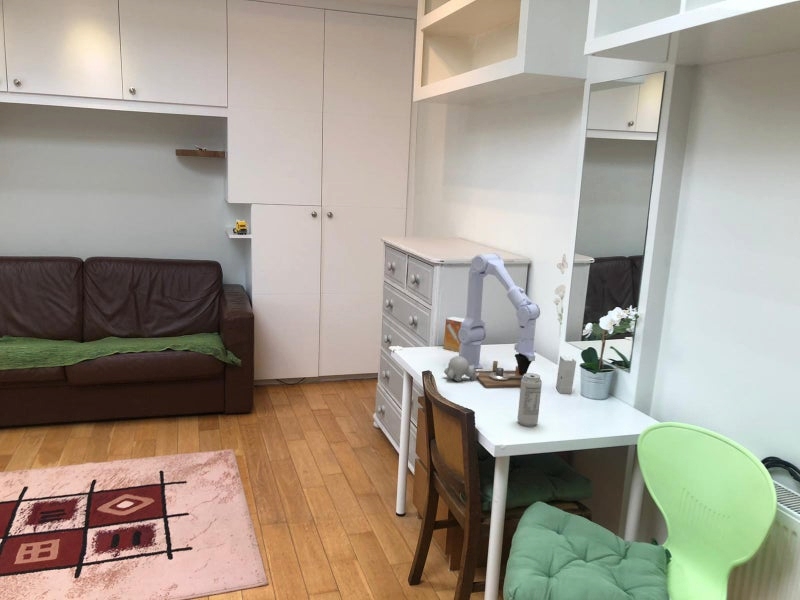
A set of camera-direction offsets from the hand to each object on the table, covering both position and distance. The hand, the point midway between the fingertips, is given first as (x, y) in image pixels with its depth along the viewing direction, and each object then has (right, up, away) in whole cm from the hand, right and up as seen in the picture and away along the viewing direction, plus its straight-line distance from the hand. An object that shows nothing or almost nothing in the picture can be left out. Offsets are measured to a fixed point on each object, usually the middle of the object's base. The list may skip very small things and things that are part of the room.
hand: (522, 374), depth 240 cm
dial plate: (-5, -1, +2) cm, 6 cm away
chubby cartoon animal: (-21, -2, +1) cm, 22 cm away
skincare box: (+14, -5, -5) cm, 15 cm away
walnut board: (-7, -2, +3) cm, 8 cm away
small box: (-20, +6, +41) cm, 46 cm away
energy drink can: (-5, -11, -37) cm, 39 cm away
